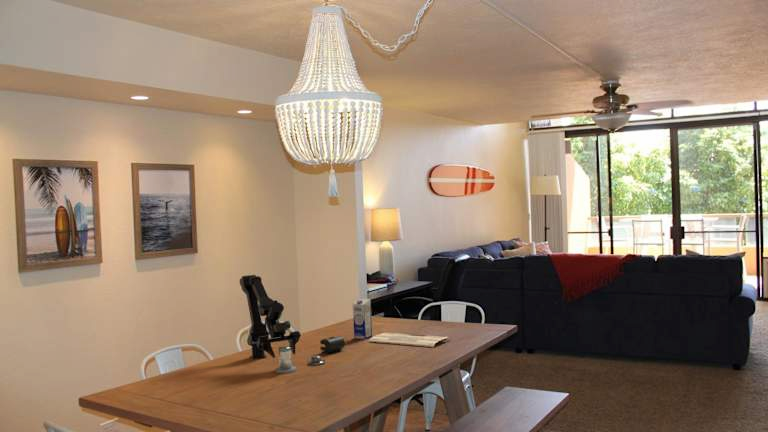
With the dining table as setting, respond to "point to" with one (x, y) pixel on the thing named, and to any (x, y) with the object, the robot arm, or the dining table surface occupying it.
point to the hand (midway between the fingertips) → (284, 355)
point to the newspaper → (408, 339)
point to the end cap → (332, 344)
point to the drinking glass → (285, 358)
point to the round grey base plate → (316, 361)
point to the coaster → (285, 370)
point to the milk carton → (362, 319)
